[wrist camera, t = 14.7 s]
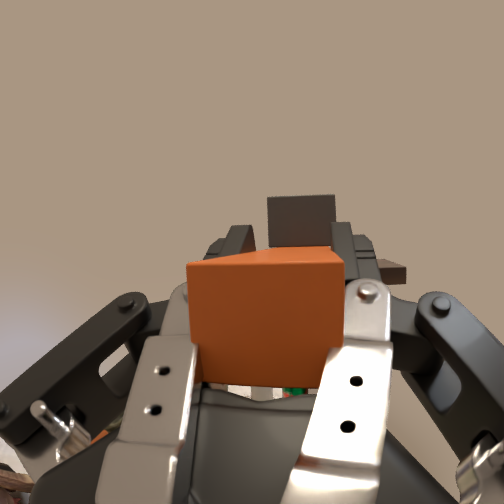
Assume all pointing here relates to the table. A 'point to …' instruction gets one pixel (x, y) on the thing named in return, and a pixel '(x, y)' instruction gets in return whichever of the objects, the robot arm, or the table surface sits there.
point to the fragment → (14, 480)
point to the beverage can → (261, 393)
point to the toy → (7, 497)
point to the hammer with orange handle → (272, 301)
